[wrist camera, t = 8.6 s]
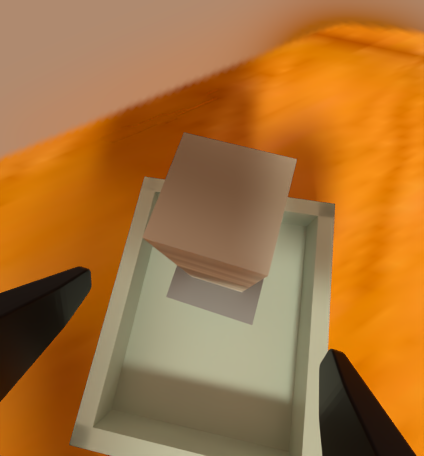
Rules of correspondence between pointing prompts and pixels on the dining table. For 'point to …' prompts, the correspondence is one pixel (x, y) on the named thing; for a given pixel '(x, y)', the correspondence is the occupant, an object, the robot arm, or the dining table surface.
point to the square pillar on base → (220, 223)
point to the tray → (212, 353)
